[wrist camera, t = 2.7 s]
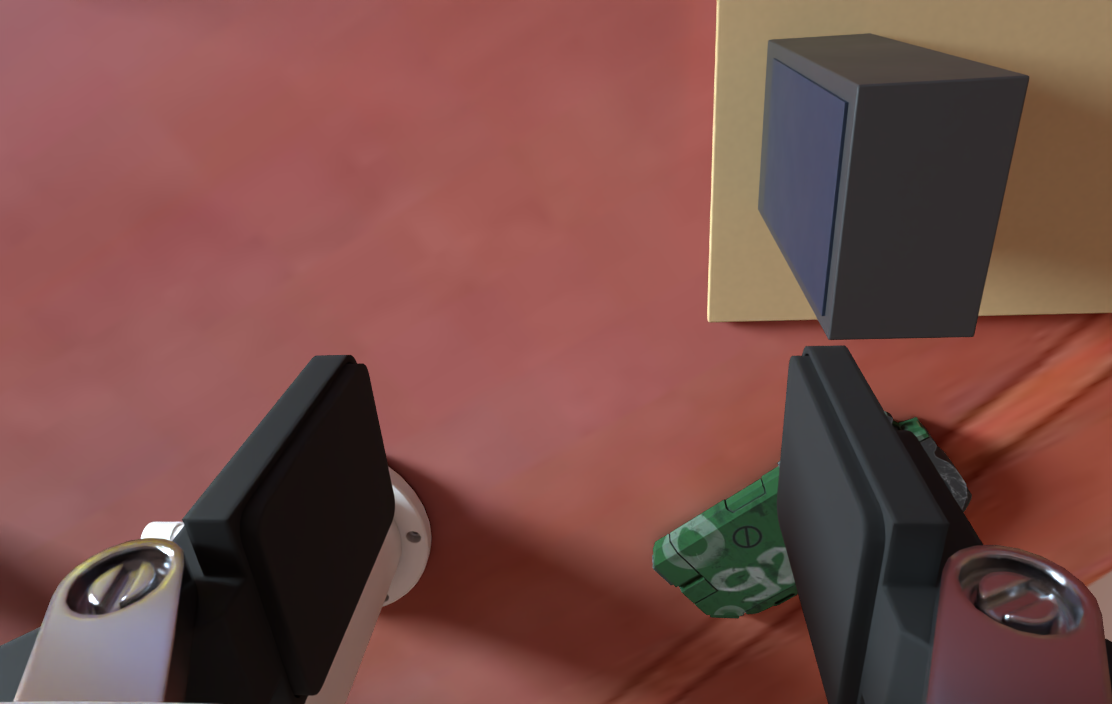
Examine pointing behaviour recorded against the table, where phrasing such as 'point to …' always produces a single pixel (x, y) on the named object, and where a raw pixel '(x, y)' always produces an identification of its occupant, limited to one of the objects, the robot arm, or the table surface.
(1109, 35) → the cork mat
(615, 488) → the table surface
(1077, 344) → the table surface
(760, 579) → the gun
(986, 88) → the black device
